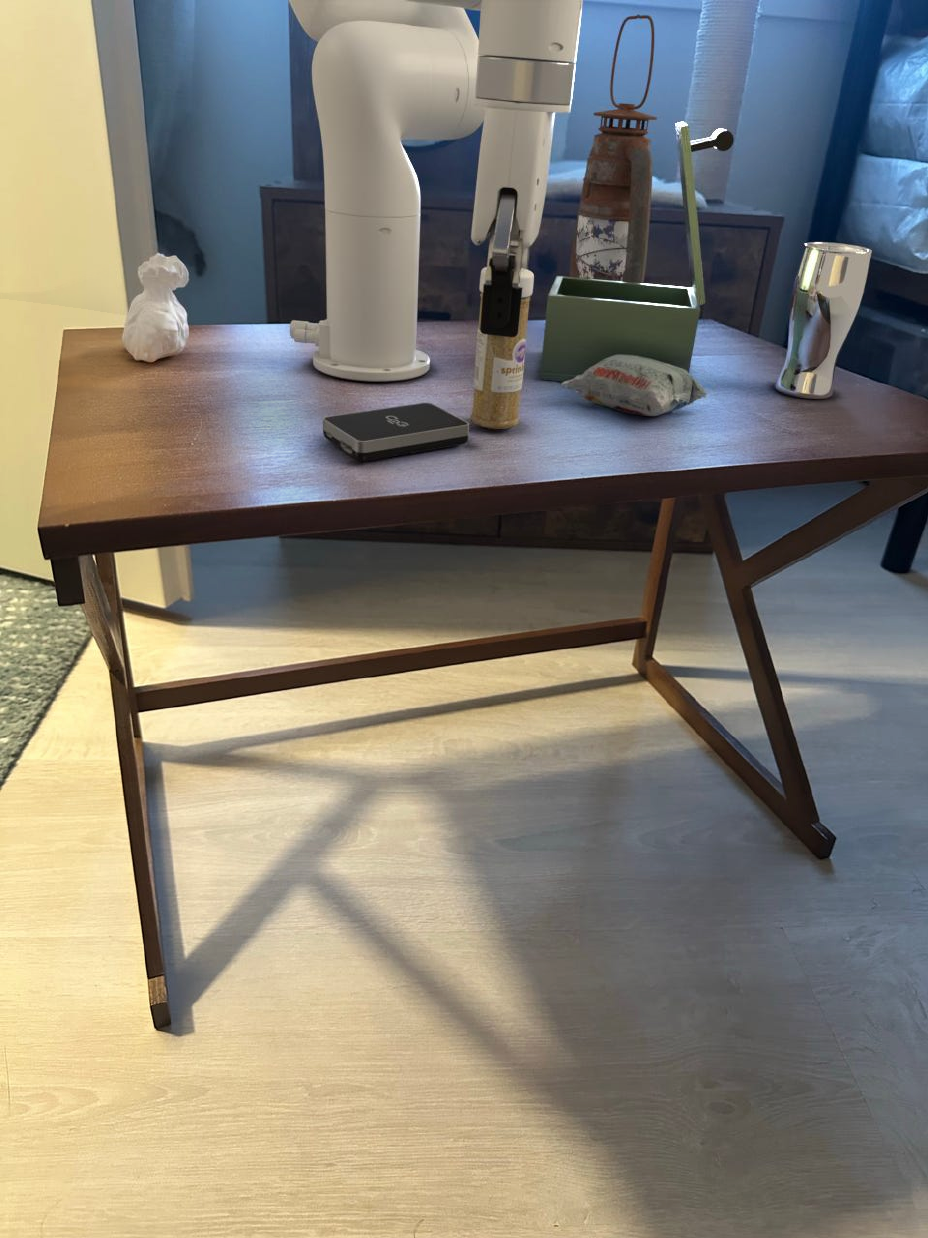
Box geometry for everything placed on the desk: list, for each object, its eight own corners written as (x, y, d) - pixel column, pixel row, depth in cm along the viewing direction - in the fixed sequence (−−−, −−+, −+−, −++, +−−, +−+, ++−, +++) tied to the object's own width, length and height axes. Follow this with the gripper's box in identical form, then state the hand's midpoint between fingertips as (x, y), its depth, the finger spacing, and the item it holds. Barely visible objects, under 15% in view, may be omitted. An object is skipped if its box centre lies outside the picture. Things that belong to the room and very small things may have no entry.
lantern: (588, 352, 112) (632, 6, 94) (532, 321, 125) (561, 12, 107) (666, 349, 115) (722, 16, 98) (603, 319, 128) (643, 20, 111)
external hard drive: (320, 440, 80) (320, 417, 78) (429, 423, 85) (430, 401, 84) (359, 466, 75) (359, 442, 74) (471, 446, 80) (473, 424, 79)
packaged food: (660, 433, 86) (669, 380, 84) (557, 403, 93) (563, 353, 90) (704, 416, 92) (714, 366, 90) (604, 389, 99) (611, 342, 96)
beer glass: (846, 393, 103) (885, 249, 95) (819, 404, 98) (857, 254, 91) (788, 378, 107) (820, 239, 99) (759, 389, 102) (791, 244, 94)
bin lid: (680, 126, 87) (735, 113, 85) (675, 123, 97) (724, 111, 96) (697, 305, 94) (748, 295, 93) (691, 284, 104) (736, 275, 103)
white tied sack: (173, 389, 96) (233, 299, 95) (106, 348, 92) (168, 251, 90) (153, 360, 106) (208, 277, 104) (92, 320, 101) (148, 232, 99)
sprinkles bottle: (511, 433, 83) (527, 276, 76) (463, 425, 84) (474, 270, 77) (524, 418, 87) (540, 268, 80) (477, 411, 88) (489, 261, 81)
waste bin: (539, 379, 100) (548, 295, 96) (548, 352, 111) (556, 275, 106) (685, 394, 99) (700, 309, 94) (680, 365, 109) (694, 287, 104)
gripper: (491, 83, 79) (475, 303, 89) (458, 84, 65) (443, 346, 74) (578, 90, 78) (552, 311, 88) (565, 93, 64) (536, 357, 73)
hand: (503, 325), depth 81 cm, fingers closed on sprinkles bottle, 4 cm apart
